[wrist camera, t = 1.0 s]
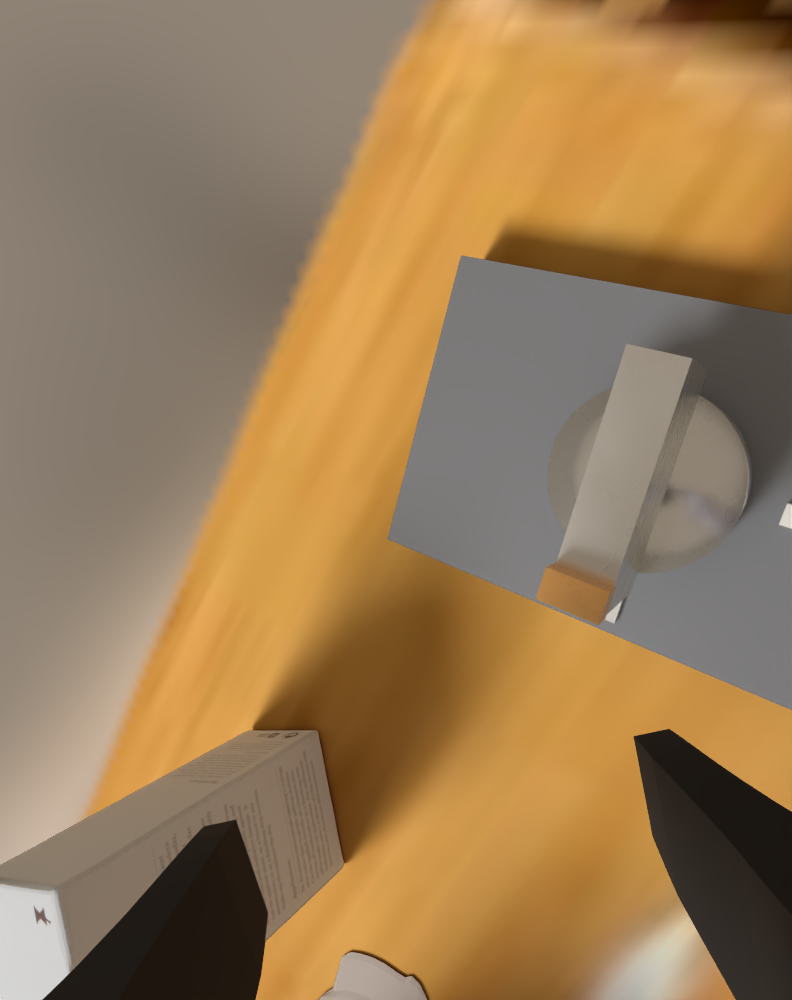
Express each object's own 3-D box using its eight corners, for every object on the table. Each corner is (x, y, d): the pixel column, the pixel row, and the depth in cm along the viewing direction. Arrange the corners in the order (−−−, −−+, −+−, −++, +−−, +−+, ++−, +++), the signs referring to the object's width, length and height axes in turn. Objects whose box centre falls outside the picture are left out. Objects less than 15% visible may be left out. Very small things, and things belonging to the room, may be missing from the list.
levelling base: (1312, 419, 14) (1436, 414, 12) (1091, 815, 17) (1150, 889, 14) (479, 265, 24) (437, 242, 21) (407, 534, 26) (361, 545, 23)
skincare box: (247, 727, 31) (-28, 870, 20) (321, 726, 29) (55, 886, 18) (272, 861, 31) (7, 1073, 20) (348, 870, 28) (95, 1113, 18)
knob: (601, 351, 20) (541, 322, 15) (788, 394, 18) (786, 376, 13) (542, 542, 21) (469, 570, 16) (708, 604, 19) (679, 659, 14)
